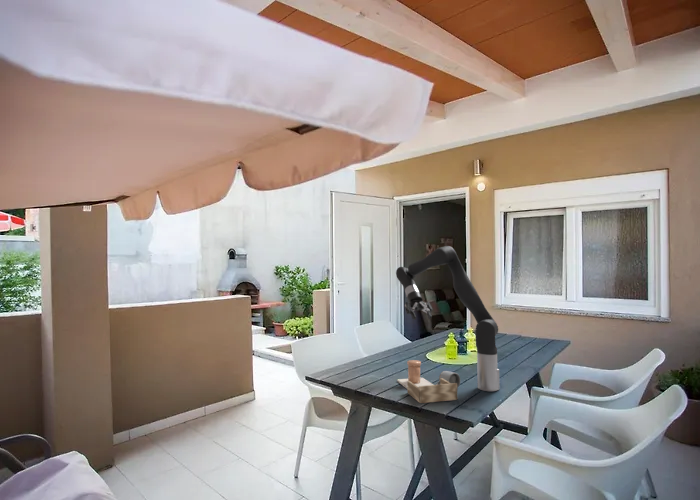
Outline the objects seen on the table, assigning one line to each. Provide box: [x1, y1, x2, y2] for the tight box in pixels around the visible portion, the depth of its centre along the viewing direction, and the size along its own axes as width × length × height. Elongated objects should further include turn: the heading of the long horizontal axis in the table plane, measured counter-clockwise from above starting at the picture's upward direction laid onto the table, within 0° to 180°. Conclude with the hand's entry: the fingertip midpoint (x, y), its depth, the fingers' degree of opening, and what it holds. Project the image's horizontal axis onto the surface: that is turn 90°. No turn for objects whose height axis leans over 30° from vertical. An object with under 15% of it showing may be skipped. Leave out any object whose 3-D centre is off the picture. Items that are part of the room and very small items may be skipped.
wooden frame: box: [406, 378, 458, 404], centre depth 180 cm, size 18×14×7 cm
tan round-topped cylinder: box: [406, 359, 422, 384], centre depth 198 cm, size 7×7×10 cm
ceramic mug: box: [436, 370, 461, 389], centre depth 192 cm, size 11×8×8 cm
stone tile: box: [397, 377, 434, 390], centre depth 197 cm, size 14×14×1 cm
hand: (422, 318), depth 205 cm, fingers open, 8 cm apart
